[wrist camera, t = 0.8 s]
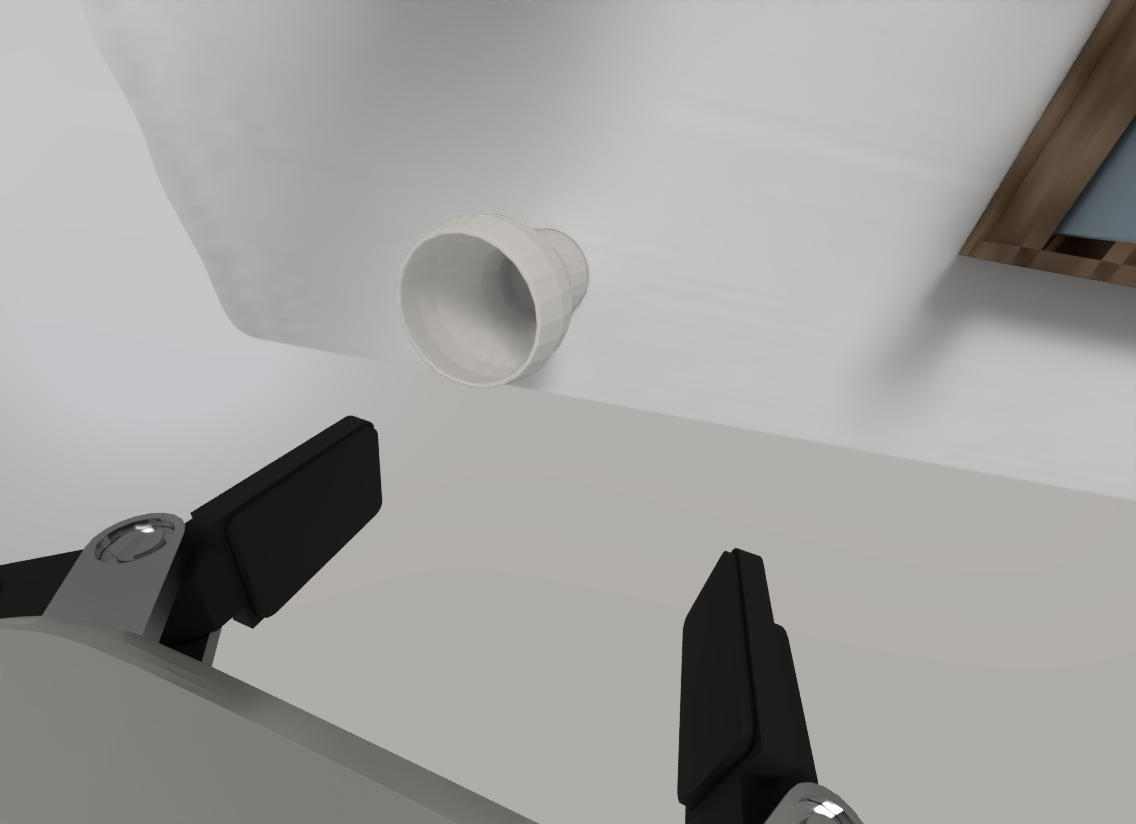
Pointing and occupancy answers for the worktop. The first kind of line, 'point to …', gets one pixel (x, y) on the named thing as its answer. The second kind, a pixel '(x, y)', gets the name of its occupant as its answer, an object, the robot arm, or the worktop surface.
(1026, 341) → the worktop surface
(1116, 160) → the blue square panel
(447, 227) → the cup
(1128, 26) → the rack
